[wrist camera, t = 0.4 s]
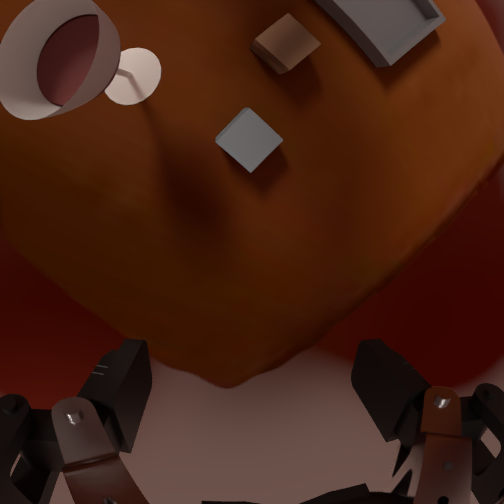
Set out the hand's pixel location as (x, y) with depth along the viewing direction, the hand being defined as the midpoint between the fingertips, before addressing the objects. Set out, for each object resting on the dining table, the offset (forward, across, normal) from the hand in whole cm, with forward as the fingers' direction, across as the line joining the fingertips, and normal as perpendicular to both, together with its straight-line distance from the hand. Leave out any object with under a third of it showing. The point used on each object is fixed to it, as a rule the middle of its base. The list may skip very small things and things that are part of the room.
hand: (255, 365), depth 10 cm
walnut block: (+22, -4, -24) cm, 33 cm away
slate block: (+26, 0, -13) cm, 29 cm away
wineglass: (+22, +14, -20) cm, 33 cm away
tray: (+20, -16, -36) cm, 44 cm away
